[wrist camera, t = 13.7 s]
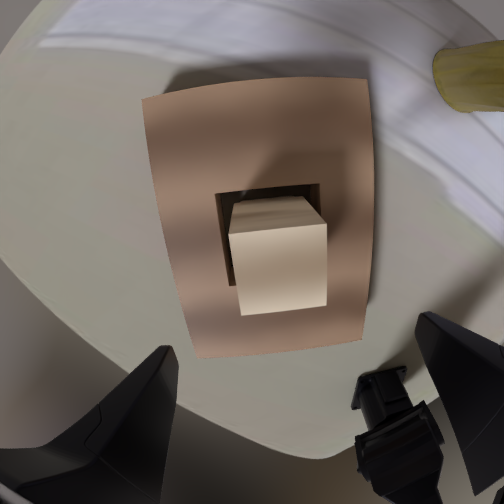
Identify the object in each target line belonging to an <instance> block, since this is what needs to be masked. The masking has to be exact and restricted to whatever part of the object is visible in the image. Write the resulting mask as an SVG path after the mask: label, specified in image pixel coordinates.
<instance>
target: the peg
mask: <svg viewBox="0 0 504 504" xmlns="http://www.w3.org/2000/svg"><path fill="white" fill-rule="evenodd" d="M228 235H229V241H230V248H231V254H232V261H233V267H234V273H235V280H236V286H237V292H238V298H239V304H240V311H241V316H242V315H253V314H262V313H271V312H280V311H288V310H297V309H304V308H312V307H319V306H326V303H327V223H326V222H325V221H324V220H323V219H322V218H321V216H320V215H319V214H318V213H317V212H316V211H315V210H314V208H313V207H312V206H311V205H310V204H309V203H308V202H307V201H306V199H305V198H304V197H303V196H298V197H294V196H293V195H292V196H282V197H272V198H262V199H253V200H244V201H241V202H240V203H234V206H233V212H232V217H231V223H230V228H229V234H228Z"/></svg>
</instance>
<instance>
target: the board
mask: <svg viewBox="0 0 504 504" xmlns="http://www.w3.org/2000/svg"><path fill="white" fill-rule="evenodd" d="M142 107H143V116H144V124H145V132H146V139H147V146H148V153H149V159H150V166H151V172H152V177H153V183H154V189H155V194H156V199H157V205H158V210H159V215H160V220H161V224H162V229H163V234H164V238H165V243H166V247H167V251H168V256H169V260H170V264H171V268H172V272H173V276H174V280H175V284H176V288H177V291H178V295H179V299H180V302H181V306H182V310H183V313H184V317H185V320H186V323H187V327H188V330H189V334H190V337H191V340H192V343H193V347H194V350H195V353H196V356H197V358H217V357H233V356H247V355H258V354H268V353H278V352H286V351H295V350H302V349H309V348H316V347H323V346H329V345H335V344H341V343H347V342H352V341H358V340H362V335H363V328H364V322H365V315H366V307H367V299H368V291H369V281H370V270H371V258H372V244H373V223H374V156H373V136H372V122H371V110H370V100H369V91H368V83H367V79H358V78H340V77H284V78H267V79H254V80H244V81H235V82H227V83H219V84H213V85H206V86H200V87H195V88H189V89H184V90H179V91H174V92H170V93H165V94H161V95H157V96H153V97H149V98H145V99H142ZM302 184H310V192H311V206H312V207H313V208H314V210H315V211H316V212H317V213H318V214H319V215H320V216H321V218H322V219H323V220H324V221H325V222H326V223H327V303H326V306H319V307H312V308H304V309H297V310H288V311H280V312H271V313H262V314H253V315H242V316H241V311H240V304H239V298H238V292H237V286H236V280H235V273H234V267H231V263H230V257H229V250H228V244H227V237H226V230H225V224H224V217H223V210H222V203H221V195H220V193H224V192H232V191H240V190H249V189H259V188H268V187H279V186H290V185H302Z"/></svg>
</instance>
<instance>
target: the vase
mask: <svg viewBox="0 0 504 504" xmlns="http://www.w3.org/2000/svg"><path fill="white" fill-rule="evenodd" d="M433 75H434V79H435V83H436V86H437V88H438V90H439V92H440V94H441V96H442V97H443V99H444V100H445V101H446V102H447V104H448V105H449V106H451V107H452V108H453V109H455V110H456V111H458V112H462V113H470V112H473V111H485V112H496V111H500V112H504V40H500V41H493V42H486V43H480V44H475V45H471V46H467V47H462V48H457V49H443V50H441V51H439V52H438V53H437V54H436V56H435V58H434V61H433Z"/></svg>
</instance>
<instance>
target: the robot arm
mask: <svg viewBox="0 0 504 504" xmlns="http://www.w3.org/2000/svg"><path fill="white" fill-rule="evenodd" d="M415 337H416V339H417V342H418V345H419V347H420V350H421V353H422V356H423V358H424V361H425V364H426V367H427V369H428V371H429V374H430V376H431V378H432V380H433V382H434V384H435V387H436V389H437V391H438V393H439V396H440V398H441V400H442V403H443V405H444V408H445V410H446V412H447V415H448V417H449V420H450V422H451V425H452V428H453V430H454V433H455V436H456V438H457V441H458V444H459V447H460V450H461V452H462V456H463V459H464V462H465V465H466V469H467V472H468V475H469V479H470V482H471V486H472V489H473V493H474V495H475V496H476V495H478V494H480V493H481V492H483V491H484V490H485V489H487V488H489V487H490V486H491V485H493V484H494V483H496V482H497V481H498V480H500V479H501V478H502V477H504V347H503V346H501V345H498V344H497V343H495V342H493V341H491V340H489V339H487V338H485V337H483V336H481V335H479V334H477V333H475V332H472V331H470V330H468V329H466V328H464V327H462V326H460V325H458V324H456V323H454V322H452V321H449V320H447V319H445V318H443V317H441V316H439V315H437V314H435V313H432V312H430V311H427V312H423V313H420V314H419V317H418V320H417V324H416V328H415ZM178 370H179V365H178V360H177V358H176V355H175V353H174V350H173V348H172V346H170V345H161V346H159V347H158V348H157V349H156V350H155V351H154V352H153V353H151V354H150V355H149V356H148V357H147V358H146V359H145V360H144V361H143V362H142V363H141V364H140V365H139V366H138V367H136V368H135V369H134V370H133V371H132V372H131V373H130V374H129V375H128V376H127V377H126V378H125V379H124V380H123V381H121V382H120V383H119V384H118V385H117V386H116V387H115V388H114V389H113V390H112V391H111V392H110V393H109V394H108V395H107V396H105V397H104V398H103V399H102V400H101V401H100V402H99V404H97V405H96V406H95V407H94V408H92V409H91V410H90V411H89V412H88V413H87V414H86V415H84V416H83V417H82V418H81V419H80V420H78V421H77V422H76V423H75V424H73V425H72V426H71V427H69V428H68V429H67V430H65V431H64V432H63V433H61V434H60V435H59V436H57V437H56V438H54V439H53V440H52V441H50V442H49V443H47V444H45V445H43V446H40V447H36V448H18V449H3V448H2V449H1V448H0V504H160V499H161V492H162V485H163V478H164V472H165V465H166V459H167V453H168V446H169V441H170V435H171V429H172V423H173V418H174V413H175V407H176V399H177V384H178ZM406 372H407V368H406V366H403V367H399V368H395V369H392V370H388V371H384V372H380V373H376V374H371V375H367V376H363V377H360V378H359V379H358V380H357V384H356V388H355V392H354V396H353V400H352V404H351V408H352V410H356V409H360V408H361V410H362V413H363V416H364V419H365V422H366V425H367V428H368V431H367V432H365V433H363V434H361V435H357V436H355V441H356V442H355V443H354V444H355V447H356V454H357V471H358V473H360V474H362V475H363V476H364V478H365V479H366V481H367V482H370V481H371V484H372V487H373V490H374V492H375V493H377V494H378V495H379V496H381V497H383V498H385V499H386V500H388V501H389V502H391V503H392V504H443V502H442V499H441V496H440V493H439V490H438V484H439V480H440V476H441V472H442V467H443V454H442V451H441V449H440V446H442V445H444V444H445V442H444V439H443V436H442V434H441V432H440V429H439V427H438V425H437V423H436V421H435V419H434V417H433V415H432V414H431V412H430V410H429V408H428V407H427V405H426V403H425V401H424V400H423V401H421V402H420V403H419V404H418V405H416V406H413V404H412V402H411V400H410V398H409V396H408V393H407V391H406V389H405V387H404V385H403V380H404V377H405V375H406ZM493 504H504V486H503V487H502V488H500V489H499V490H498V491H497V494H496V496H495V499H494V501H493Z"/></svg>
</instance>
